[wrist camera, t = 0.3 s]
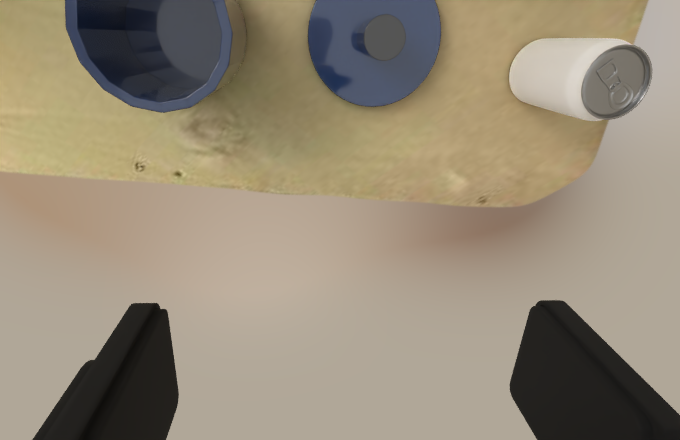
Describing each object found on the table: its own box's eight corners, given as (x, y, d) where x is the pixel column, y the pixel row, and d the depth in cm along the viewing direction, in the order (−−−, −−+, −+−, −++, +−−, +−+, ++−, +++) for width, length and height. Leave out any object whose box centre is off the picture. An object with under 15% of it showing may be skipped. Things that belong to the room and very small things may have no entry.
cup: (90, 10, 38) (28, 1, 29) (191, -69, 36) (156, -103, 27) (177, 118, 42) (145, 139, 33) (271, 53, 40) (262, 57, 32)
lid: (281, 14, 39) (278, 10, 33) (398, -70, 37) (416, -89, 32) (351, 128, 44) (359, 142, 38) (458, 59, 42) (482, 63, 36)
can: (525, 116, 45) (597, 141, 34) (495, 68, 43) (562, 78, 32) (577, 75, 44) (670, 87, 33) (549, 23, 41) (638, 18, 30)
